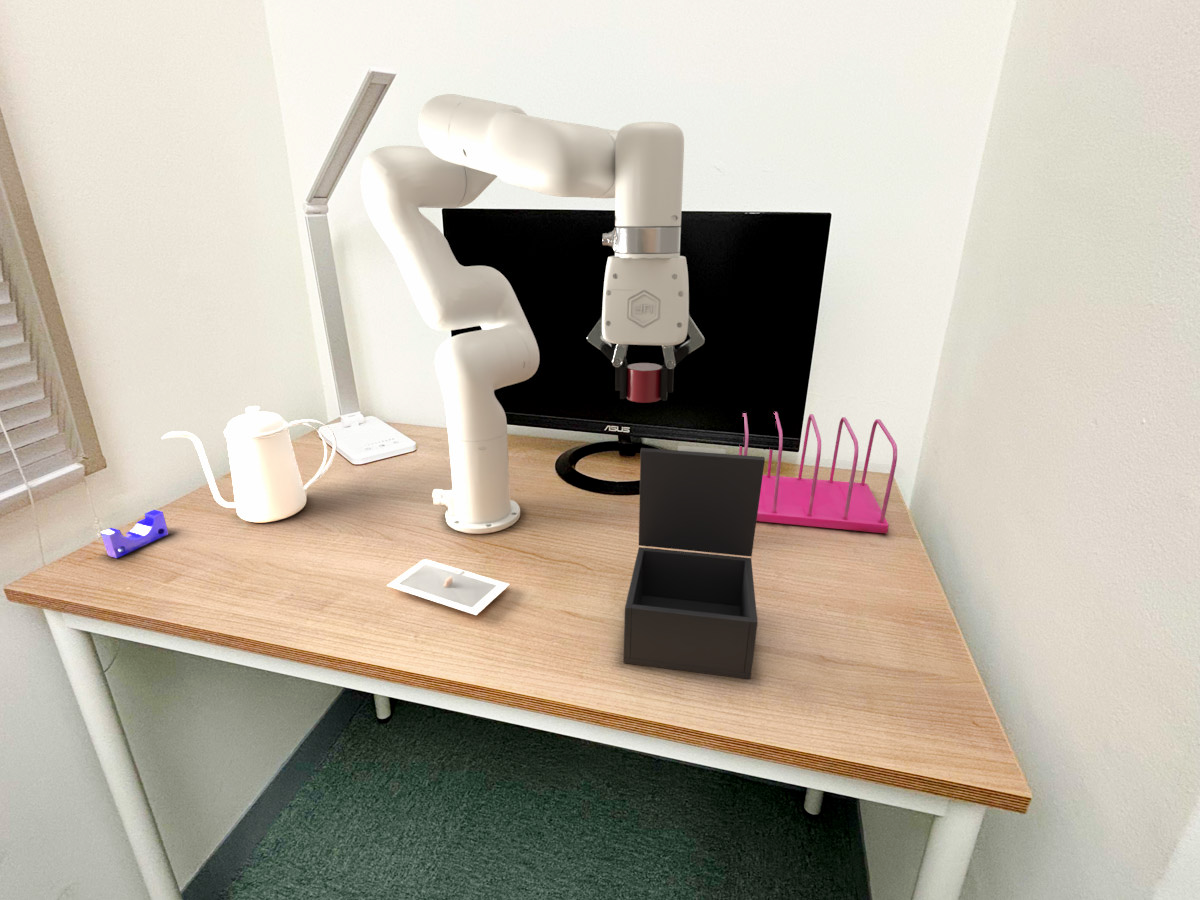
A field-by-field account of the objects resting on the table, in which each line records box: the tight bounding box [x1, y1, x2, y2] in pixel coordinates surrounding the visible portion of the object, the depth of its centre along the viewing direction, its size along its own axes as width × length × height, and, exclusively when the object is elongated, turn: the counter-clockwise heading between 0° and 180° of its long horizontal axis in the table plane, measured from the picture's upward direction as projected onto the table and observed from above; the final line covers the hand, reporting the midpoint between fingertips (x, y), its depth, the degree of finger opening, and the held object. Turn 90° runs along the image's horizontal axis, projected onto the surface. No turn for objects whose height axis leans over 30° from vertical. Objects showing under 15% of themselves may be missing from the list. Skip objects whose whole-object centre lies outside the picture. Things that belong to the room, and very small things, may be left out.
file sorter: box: [738, 411, 898, 534], centre depth 109 cm, size 17×25×16 cm
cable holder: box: [100, 509, 170, 559], centre depth 96 cm, size 8×4×4 cm, turn 158°
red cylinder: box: [626, 362, 663, 404], centre depth 77 cm, size 4×4×4 cm
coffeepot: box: [161, 405, 337, 523], centre depth 104 cm, size 11×25×19 cm, turn 131°
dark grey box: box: [622, 546, 758, 680], centre depth 76 cm, size 14×15×8 cm
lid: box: [638, 445, 766, 557], centre depth 79 cm, size 14×15×6 cm
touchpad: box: [386, 558, 511, 616], centre depth 85 cm, size 8×15×2 cm, turn 65°
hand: (644, 395), depth 77 cm, fingers closed on red cylinder, 4 cm apart
